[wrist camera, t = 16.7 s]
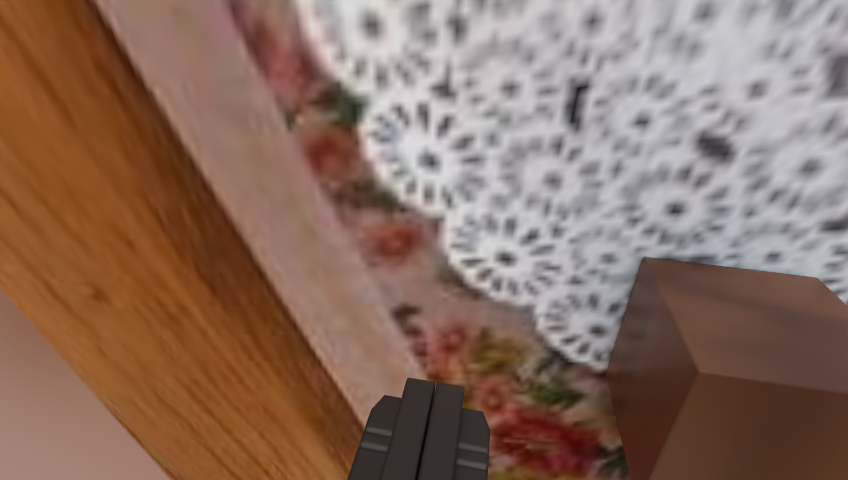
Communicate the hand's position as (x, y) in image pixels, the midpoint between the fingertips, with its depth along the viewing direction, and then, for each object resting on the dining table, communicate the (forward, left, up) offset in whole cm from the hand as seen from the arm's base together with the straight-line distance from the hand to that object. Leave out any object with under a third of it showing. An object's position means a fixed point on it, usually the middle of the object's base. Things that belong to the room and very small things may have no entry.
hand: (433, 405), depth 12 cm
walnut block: (+8, 0, -5) cm, 10 cm away
